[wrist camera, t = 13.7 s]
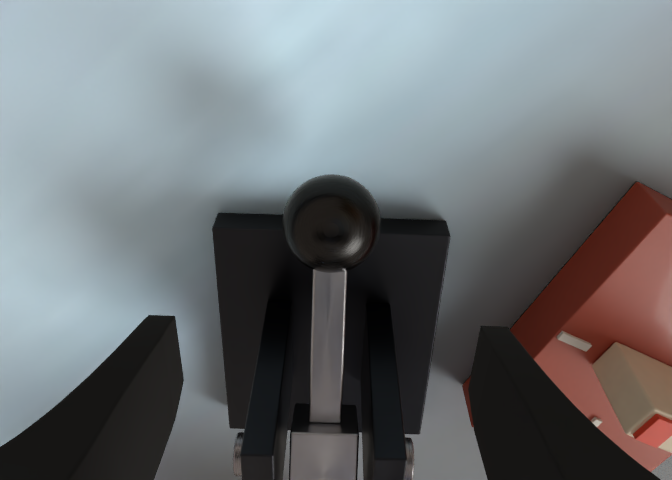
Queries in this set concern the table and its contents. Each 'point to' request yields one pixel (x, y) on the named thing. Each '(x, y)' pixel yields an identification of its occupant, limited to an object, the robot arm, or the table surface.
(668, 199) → the dial panel
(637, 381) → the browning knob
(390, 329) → the black lever mount
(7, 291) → the table surface
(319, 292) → the lever
